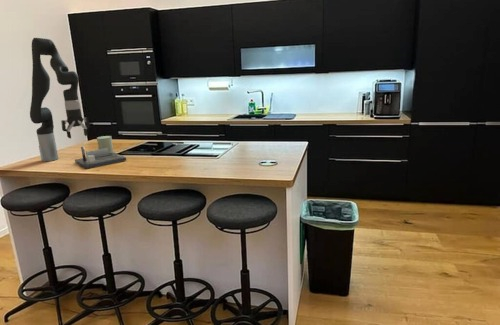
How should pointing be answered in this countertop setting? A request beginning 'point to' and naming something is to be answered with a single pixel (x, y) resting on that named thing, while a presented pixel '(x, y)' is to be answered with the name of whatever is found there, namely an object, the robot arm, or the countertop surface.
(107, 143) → the can
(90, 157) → the fader
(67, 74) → the robot arm
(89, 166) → the grey holder base
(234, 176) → the countertop surface
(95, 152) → the rack door
